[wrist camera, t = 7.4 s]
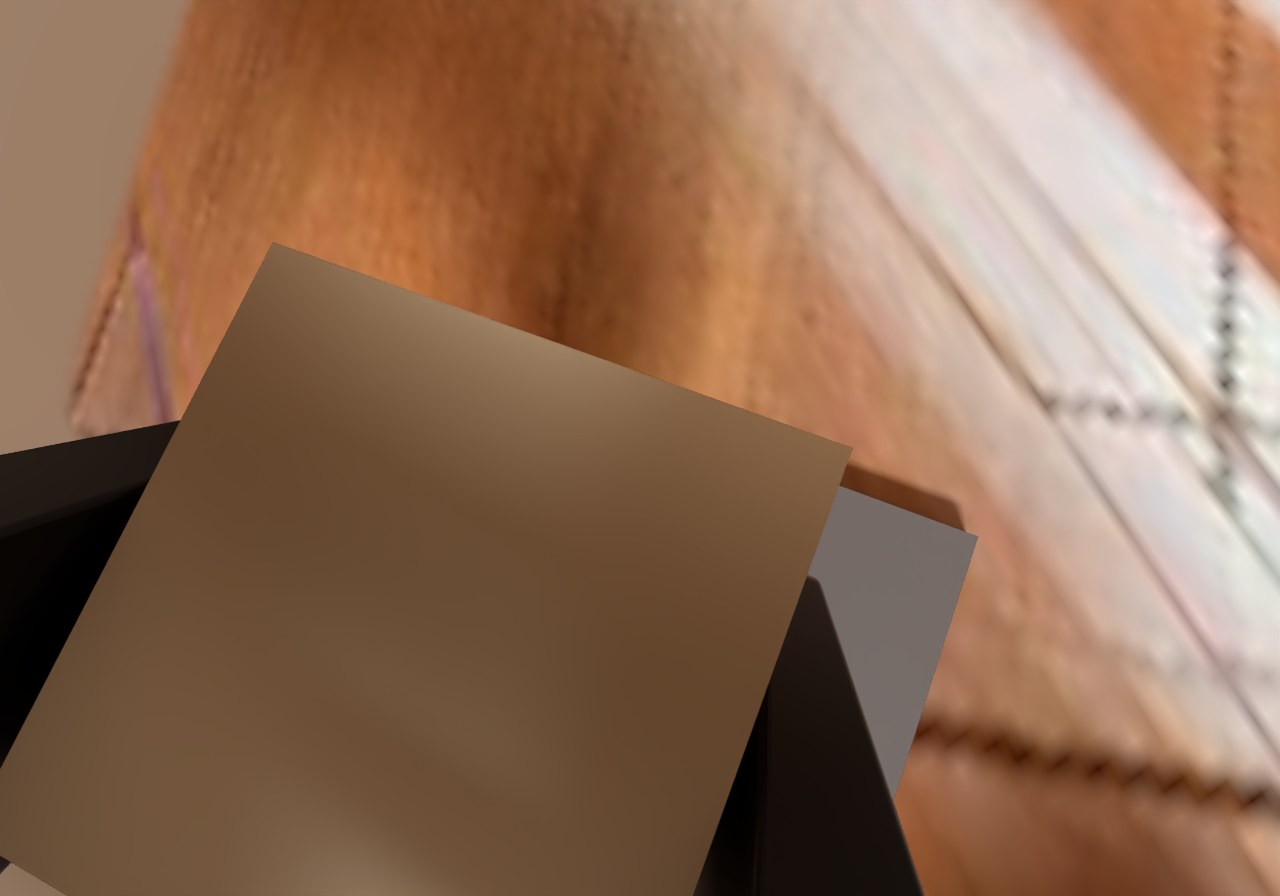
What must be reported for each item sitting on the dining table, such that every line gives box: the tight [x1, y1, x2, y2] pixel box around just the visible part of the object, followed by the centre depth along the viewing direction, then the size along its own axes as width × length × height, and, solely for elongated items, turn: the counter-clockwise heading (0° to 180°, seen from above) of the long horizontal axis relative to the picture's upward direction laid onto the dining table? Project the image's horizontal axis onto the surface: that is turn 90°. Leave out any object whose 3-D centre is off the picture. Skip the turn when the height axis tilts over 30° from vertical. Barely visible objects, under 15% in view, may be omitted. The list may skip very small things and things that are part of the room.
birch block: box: [0, 242, 852, 896], centre depth 9 cm, size 5×5×9 cm
